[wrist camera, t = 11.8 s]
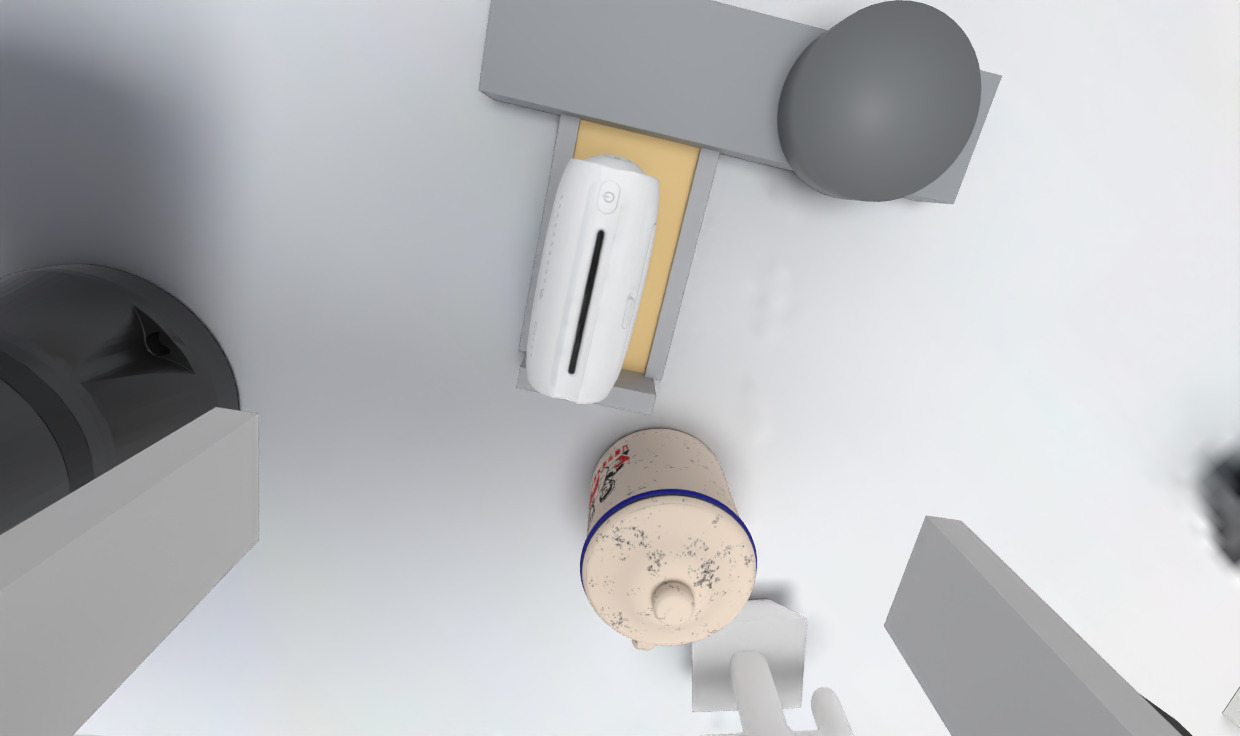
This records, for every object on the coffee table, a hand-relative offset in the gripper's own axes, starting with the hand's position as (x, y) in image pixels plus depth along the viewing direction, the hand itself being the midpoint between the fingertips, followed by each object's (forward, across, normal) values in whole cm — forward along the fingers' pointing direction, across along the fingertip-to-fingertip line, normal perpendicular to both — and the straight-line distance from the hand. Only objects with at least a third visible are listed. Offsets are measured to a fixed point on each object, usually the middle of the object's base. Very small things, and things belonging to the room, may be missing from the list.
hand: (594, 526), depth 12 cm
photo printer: (+24, -1, +2) cm, 24 cm away
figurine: (+24, +13, -22) cm, 35 cm away
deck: (+24, +4, +5) cm, 25 cm away
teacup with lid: (+24, +6, -13) cm, 28 cm away
